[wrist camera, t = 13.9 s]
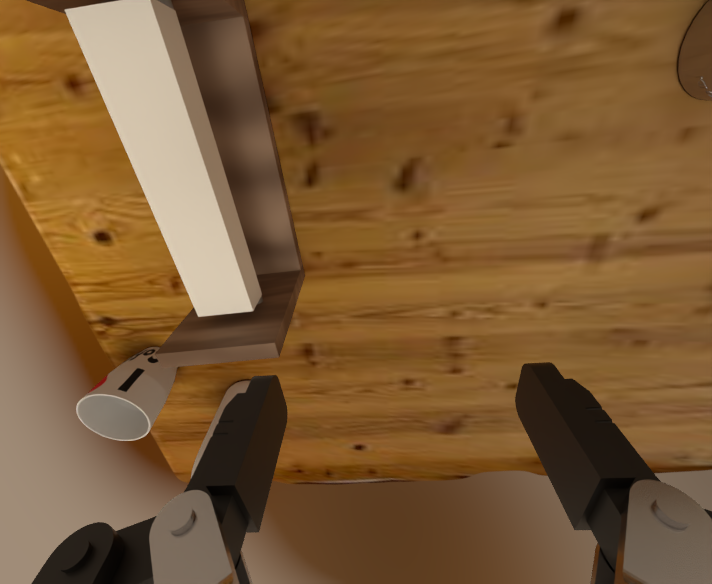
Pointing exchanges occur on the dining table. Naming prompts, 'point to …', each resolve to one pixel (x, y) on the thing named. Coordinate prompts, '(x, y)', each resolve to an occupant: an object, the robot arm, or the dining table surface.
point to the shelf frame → (236, 185)
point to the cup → (128, 398)
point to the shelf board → (170, 146)
